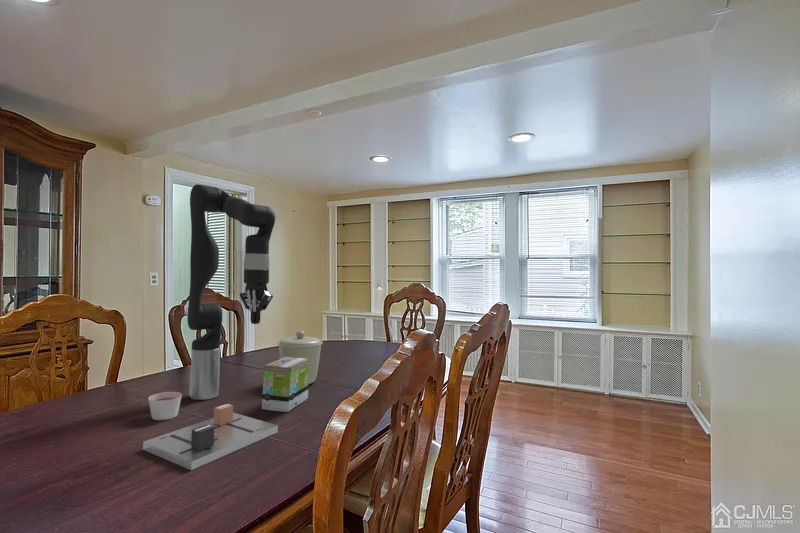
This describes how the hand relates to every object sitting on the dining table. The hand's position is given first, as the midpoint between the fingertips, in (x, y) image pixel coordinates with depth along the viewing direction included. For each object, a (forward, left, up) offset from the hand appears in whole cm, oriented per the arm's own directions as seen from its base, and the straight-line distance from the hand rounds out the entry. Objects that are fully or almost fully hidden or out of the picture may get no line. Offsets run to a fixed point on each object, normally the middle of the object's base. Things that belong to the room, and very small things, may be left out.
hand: (255, 323), depth 129 cm
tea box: (0, +14, -29) cm, 32 cm away
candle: (-22, -15, -29) cm, 40 cm away
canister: (-15, +36, -29) cm, 49 cm away
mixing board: (+6, -18, -29) cm, 35 cm away
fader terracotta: (+2, -12, -27) cm, 30 cm away
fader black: (+11, -25, -27) cm, 38 cm away
